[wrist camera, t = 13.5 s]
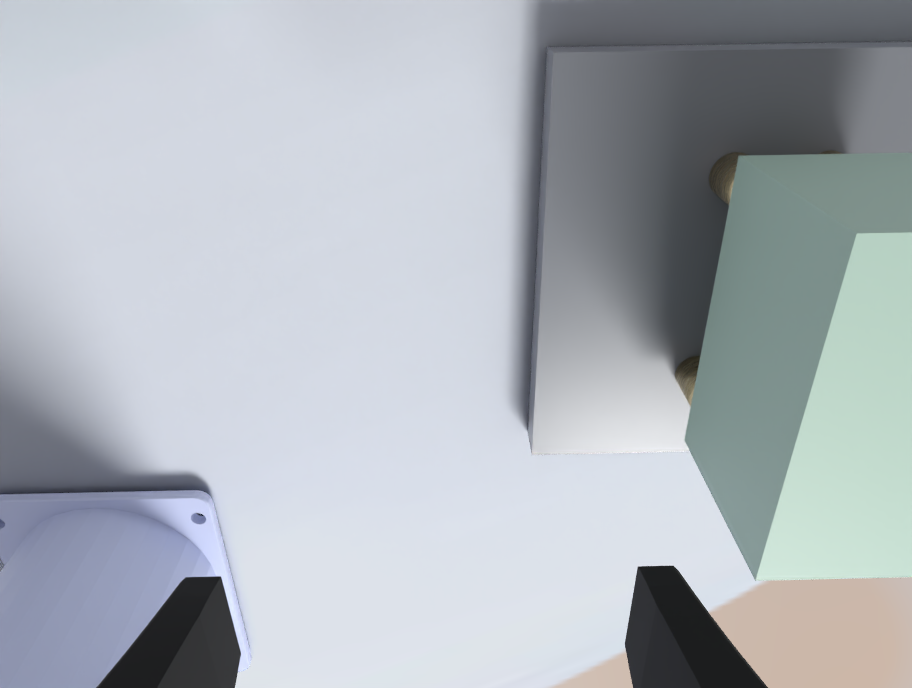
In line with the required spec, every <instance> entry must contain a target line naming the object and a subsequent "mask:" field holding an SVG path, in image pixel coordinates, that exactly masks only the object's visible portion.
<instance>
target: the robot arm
mask: <svg viewBox="0 0 912 688" xmlns="http://www.w3.org/2000/svg"><path fill="white" fill-rule="evenodd" d="M196 513H200V514H202V515H204V516H199V515H197V514H196ZM0 558H1V560H2V562H3V564H4V568H3V569H2V570H1V572H0V688H235V683H236V678H237V673H238V672H240V671H244V670H246V669H248V668H249V666H250V663H251V659H252V656H251V652H250V648H249V644H248V640H247V636H246V632H245V628H244V624H243V620H242V616H241V612H240V608H239V604H238V600H237V596H236V592H235V587H234V583H233V579H232V575H231V571H230V567H229V563H228V559H227V555H226V551H225V547H224V543H223V539H222V535H221V531H220V527H219V523H218V519H217V515H216V511H215V507H214V503H213V500H212V498H211V496H210V495H208V494H207V493H205V492H203V491H199V490H179V491H134V492H88V493H43V494H0ZM625 647H626V653H627V658H628V663H629V669H630V674H631V679H632V684H633V688H768V687H767V686H766V685H765V684H764V682H763V681H762V680H761V679H760V677H759V676H758V675H757V674H756V673H755V671H754V670H753V669H752V668H751V666H750V665H749V664H748V663H747V662H746V660H745V659H744V658H743V657H742V655H741V654H740V653H739V652H738V650H737V649H736V648H735V647H734V645H733V644H732V643H731V641H730V640H729V639H728V638H727V636H726V635H725V634H724V632H723V631H722V630H721V628H720V627H719V626H718V625H717V623H716V622H715V621H714V619H713V618H712V617H711V615H710V614H709V613H708V611H707V610H706V608H705V607H704V606H703V604H702V603H701V602H700V600H699V599H698V598H697V596H696V595H695V593H694V592H693V591H692V589H691V588H690V586H689V585H688V584H687V582H686V581H685V579H684V578H683V577H682V575H681V574H680V572H679V571H678V570H677V569H676V568H675V567H674V566H642V567H638V569H637V575H636V581H635V587H634V593H633V599H632V605H631V611H630V617H629V623H628V629H627V635H626V641H625Z"/></svg>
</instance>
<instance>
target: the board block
mask: <svg viewBox="0 0 912 688" xmlns="http://www.w3.org/2000/svg"><path fill="white" fill-rule="evenodd" d="M684 441H685V443H686V444H687V446H688V448H689V450H690V452H691V454H692V456H693V458H694V460H695V462H696V464H697V466H698V468H699V470H700V472H701V474H702V476H703V478H704V480H705V482H706V484H707V486H708V488H709V490H710V492H711V494H712V496H713V498H714V500H715V502H716V504H717V506H718V508H719V510H720V512H721V514H722V516H723V518H724V520H725V522H726V524H727V526H728V528H729V529H730V531H731V533H732V535H733V537H734V539H735V541H736V543H737V545H738V547H739V549H740V551H741V553H742V555H743V557H744V559H745V561H746V563H747V565H748V567H749V569H750V571H751V573H752V575H753V577H754V579H755V581H762V580H803V579H843V578H844V579H846V578H888V577H912V153H862V154H804V155H747V156H738V162H737V167H736V172H735V177H734V183H733V188H732V193H731V198H730V204H729V209H728V214H727V219H726V225H725V230H724V235H723V240H722V246H721V251H720V256H719V261H718V267H717V272H716V277H715V282H714V287H713V293H712V298H711V303H710V308H709V314H708V319H707V324H706V329H705V335H704V340H703V345H702V350H701V356H700V361H699V366H698V371H697V377H696V382H695V387H694V392H693V398H692V403H691V408H690V413H689V418H688V424H687V429H686V434H685V439H684Z"/></svg>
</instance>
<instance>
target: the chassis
mask: <svg viewBox="0 0 912 688" xmlns="http://www.w3.org/2000/svg"><path fill="white" fill-rule="evenodd" d="M862 153H912V41H904V42H838V43H773V44H708V45H642V46H577V47H547V54H546V74H545V94H544V114H543V135H542V155H541V175H540V195H539V216H538V236H537V256H536V276H535V297H534V317H533V337H532V357H531V378H530V398H529V418H528V436H529V442H530V447H531V453H532V455H549V454H595V453H641V452H688V451H690V450H689V448H688V446H687V444H686V443H685V441H684V439H685V434H686V429H687V424H688V418H689V413H690V408H691V403H692V398H693V392H694V387H695V382H696V377H697V371H698V366H699V361H700V356H701V350H702V345H703V340H704V335H705V329H706V324H707V319H708V314H709V308H710V303H711V298H712V293H713V287H714V282H715V277H716V272H717V267H718V261H719V256H720V251H721V246H722V240H723V235H724V230H725V225H726V219H727V214H728V209H729V204H730V198H731V193H732V188H733V183H734V177H735V172H736V167H737V162H738V156H747V155H804V154H862Z"/></svg>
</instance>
